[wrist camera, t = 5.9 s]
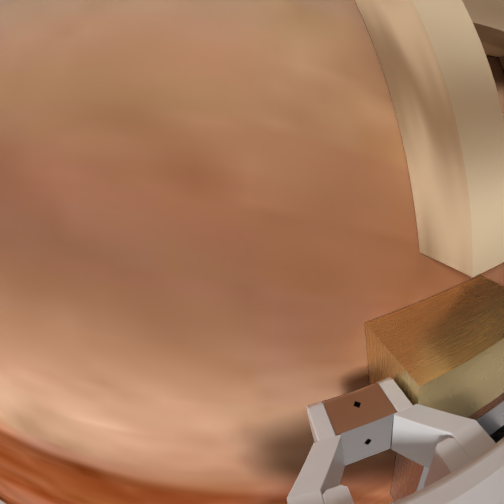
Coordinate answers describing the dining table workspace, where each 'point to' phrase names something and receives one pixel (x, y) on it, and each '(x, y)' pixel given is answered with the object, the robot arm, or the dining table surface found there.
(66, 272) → the dining table surface
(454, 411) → the bar
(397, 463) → the socket plate
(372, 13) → the block
